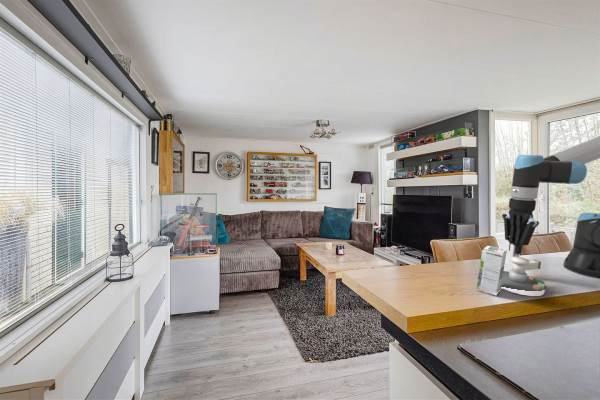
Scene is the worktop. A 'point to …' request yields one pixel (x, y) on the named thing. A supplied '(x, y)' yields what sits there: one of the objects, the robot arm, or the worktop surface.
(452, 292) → the worktop surface
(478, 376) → the worktop surface
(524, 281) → the grey shoe
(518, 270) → the peg
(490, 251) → the syrup box
